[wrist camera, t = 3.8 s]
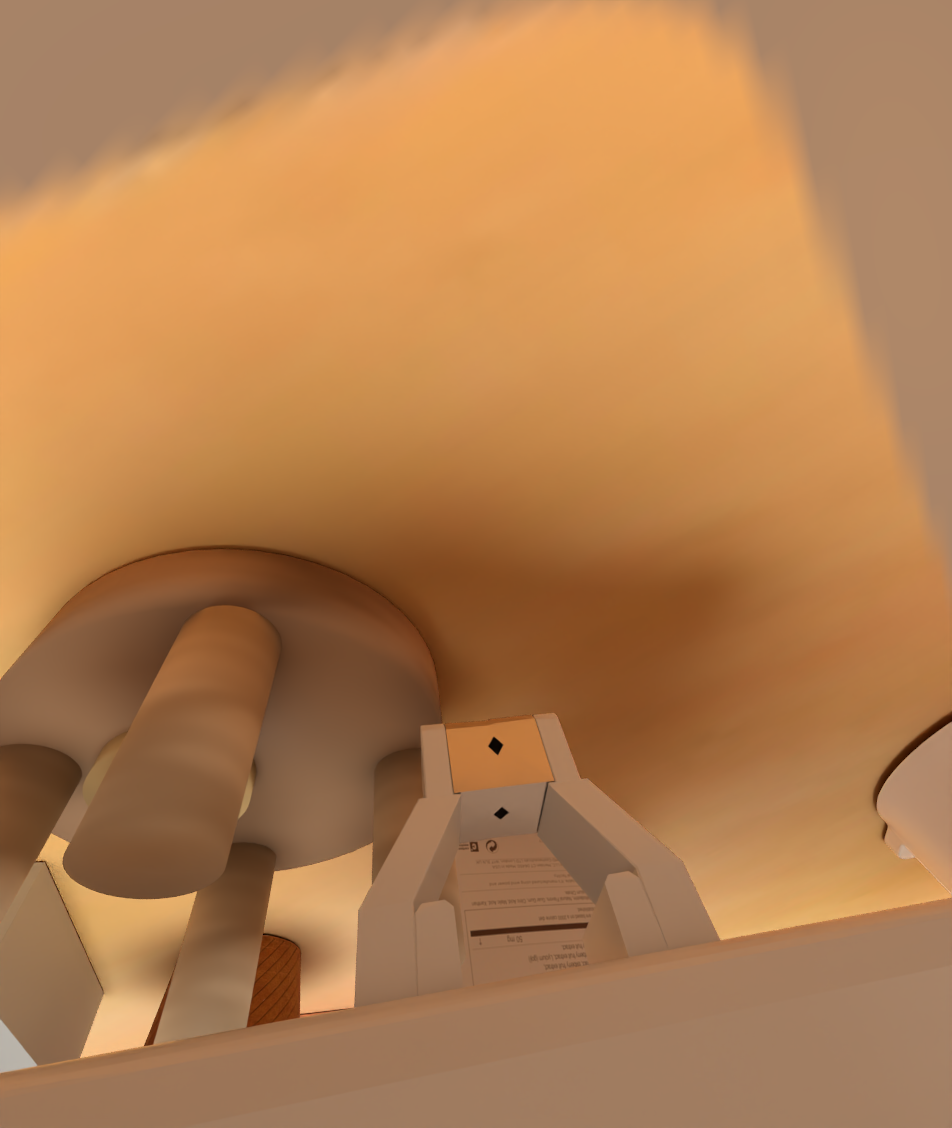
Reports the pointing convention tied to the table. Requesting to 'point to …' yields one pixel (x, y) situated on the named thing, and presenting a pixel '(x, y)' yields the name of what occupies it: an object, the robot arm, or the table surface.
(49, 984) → the stand
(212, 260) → the table surface
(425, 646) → the dial
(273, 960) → the disposable coffee cup
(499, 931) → the supplement box
